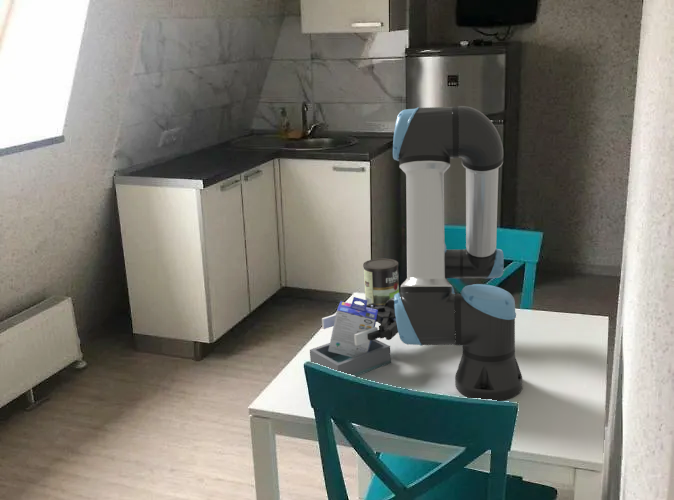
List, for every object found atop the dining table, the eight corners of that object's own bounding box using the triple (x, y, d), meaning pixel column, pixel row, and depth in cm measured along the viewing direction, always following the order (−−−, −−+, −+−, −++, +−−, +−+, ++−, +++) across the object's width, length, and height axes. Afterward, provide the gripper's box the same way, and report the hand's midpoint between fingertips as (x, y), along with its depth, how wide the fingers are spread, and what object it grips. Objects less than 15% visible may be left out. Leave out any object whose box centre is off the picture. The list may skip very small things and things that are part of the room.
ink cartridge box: (369, 349, 187) (381, 301, 180) (366, 361, 182) (378, 312, 175) (331, 340, 187) (341, 291, 181) (327, 352, 182) (338, 302, 176)
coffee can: (406, 305, 221) (405, 260, 216) (387, 317, 213) (385, 271, 209) (378, 299, 227) (376, 256, 223) (358, 310, 219) (356, 265, 215)
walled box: (390, 362, 184) (390, 346, 183) (338, 382, 175) (337, 365, 174) (361, 347, 194) (360, 332, 192) (310, 366, 185) (309, 349, 184)
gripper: (438, 336, 183) (370, 362, 171) (375, 309, 202) (311, 331, 191) (437, 308, 181) (369, 332, 169) (374, 284, 200) (309, 304, 189)
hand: (338, 331), depth 180 cm, fingers open, 13 cm apart
